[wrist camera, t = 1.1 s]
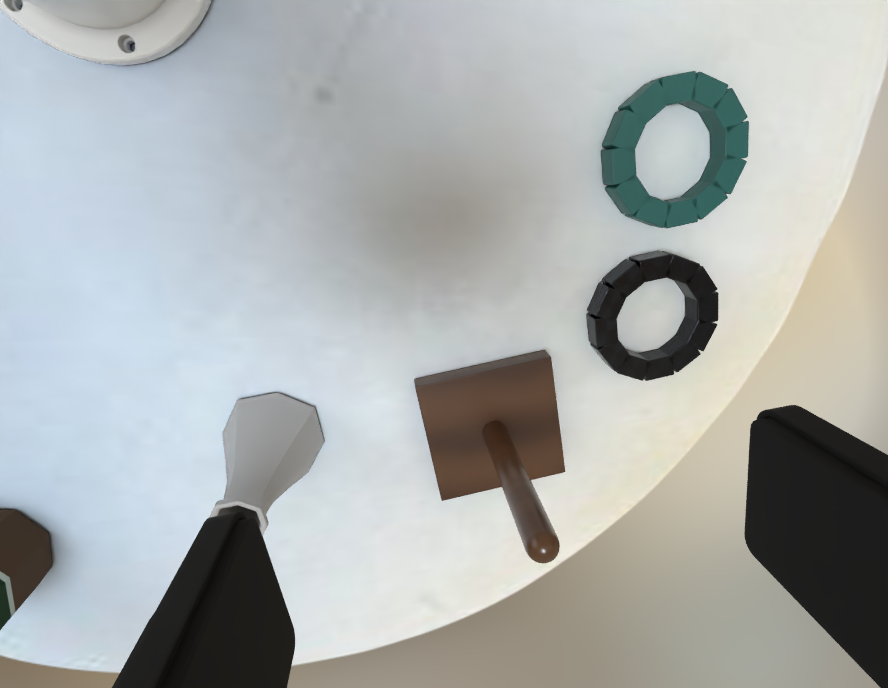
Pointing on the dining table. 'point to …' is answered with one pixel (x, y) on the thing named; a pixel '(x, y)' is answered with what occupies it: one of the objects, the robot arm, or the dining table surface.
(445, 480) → the stand
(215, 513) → the flask
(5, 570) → the beer bottle
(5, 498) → the dining table surface
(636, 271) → the graphite ring
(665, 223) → the teal ring
